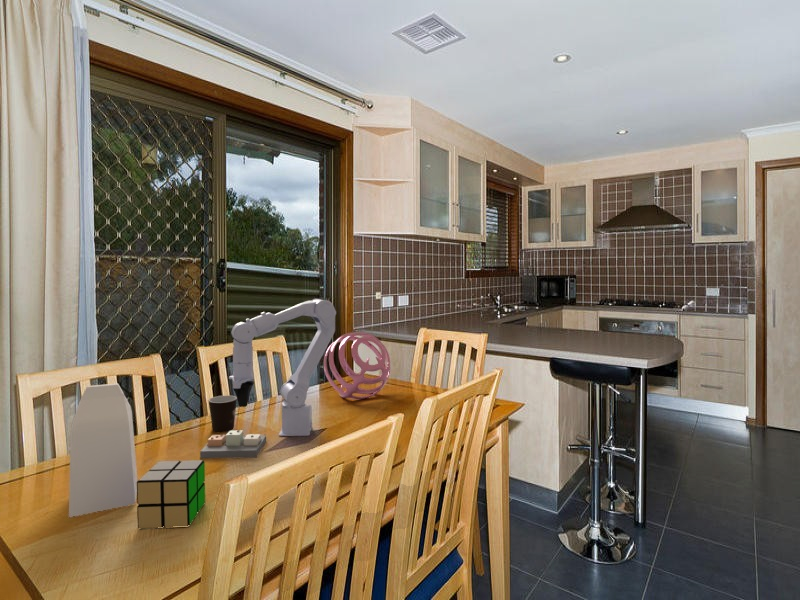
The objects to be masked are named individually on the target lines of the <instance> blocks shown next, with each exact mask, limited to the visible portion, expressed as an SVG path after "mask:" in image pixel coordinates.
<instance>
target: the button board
mask: <svg viewBox="0 0 800 600" xmlns="http://www.w3.org/2000/svg"><path fill="white" fill-rule="evenodd" d="M246 435H247V434H245V435H244V434H243V443H242V444H241V445H240V446H226V443H225V444H224V445H223V446H208V442H207V443H206V444H205V445H204V447H203V448H202V449H201V450H200V451H199V455H200V456H199V458H200V459H236V458H237V459H239V458H243V459H244V458H247V459H248V458H251V459H252V458H257V457H258V455H260V452H261V451H262V449H263V447H264V446H265V444H266V443H267V434H261V442H260V444H259V445H250V446H244V438H245V437H246Z"/></svg>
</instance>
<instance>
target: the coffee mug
mask: <svg viewBox="0 0 800 600" xmlns="http://www.w3.org/2000/svg"><path fill="white" fill-rule="evenodd" d="M237 403H238V400H237V396H235V395H218V396H212V397H210V398H209V399H208V408H209V414H210V419H211V428H212V432H214V433H217V432H219V433H228V432H229V431H230V430H232V429H233V428H234V427H235V419H236V410H237V409H236V408H237ZM233 430H234V429H233Z"/></svg>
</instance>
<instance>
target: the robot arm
mask: <svg viewBox="0 0 800 600" xmlns="http://www.w3.org/2000/svg"><path fill="white" fill-rule="evenodd" d="M336 315H337V311H336V309H335V306H334V304H333V303H332V302H331V301H330V300H327V299H321V298H313V299H312V300H305V301H303V302H300V303H298V304H295V305H294V306H291V307H288V308H286V309H285V310H281V311H279V312H277V313H271V312H266V311H263V312H260V315H257V316H255V317H253V318H251V319H250V318H246V319H245V322H243V321H240V322H237V323H235V324H234V326H233V327H232V329H231V331H230V334H231V336H232V338H233V342H232V344H233V346H232V375H230V376H229V377H228V379H229V380H232V385H231V388H232V389H233V391H234V393H235V395H236V396H235V397H237V404H238V407H239V408H244V407H245V408H247V406H248V404H249V399H250V394H251V392H252V388H253V386H254V384H255V381H254V380H253V379H254V346H253V340H254V338H255V337H256V338H257V337H259V336H262V335H265V334H268V333H270V332H272V331H276V330H277V327H278V325H279V324H282V323H285V322H287V321H291V320H293V319H296V318H299V317H302V316H305V317H306V316H307V317H311V318H312V319H313V321H314V323H315V325H316V328H317V330H316V332H315V334H314V336H313V338H312V340H311V341H310V344H309V345H308V347H307V349H306V351H305V353H304V355H303V357H302V358H301V361H300V363H299V364H298V367H297V369H296V370H295V371H294V373H293V374H292V375H290V376H289V378H288V380H287V381H285V383H283V384H282V385H281V387H280V390H279V391H280V396H281V397H282V399H283V401H282V402H281V429H280V432H279V433H278V437H289V436H290V437H296V436H297V437H298V436H299V437H301V436H302V437H303V436H306V437H307V436H310V434H311V431H312V428H313V417H312V414H313V413H312V412H313V411H312V404H307V403H306V400H307V394H308V390H309V389H310V381H311V377H312V376H313V374H314V372H315V370H316V368H317V367H318V364H319V363H320V361H321V359H322V357H323V355H324V353H325V352H326V351H327V349H328V347H329V346H328V345H329V343H330V342H331V340H332V338H333V336H334V334H335V332H336Z"/></svg>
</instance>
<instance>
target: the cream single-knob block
mask: <svg viewBox="0 0 800 600" xmlns="http://www.w3.org/2000/svg"><path fill="white" fill-rule="evenodd" d="M245 435H246V437H245V438H244V446H250V445H259V444H260V442H261V435H262V434H261V433H251V434H249V433H248V434H245Z"/></svg>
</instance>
